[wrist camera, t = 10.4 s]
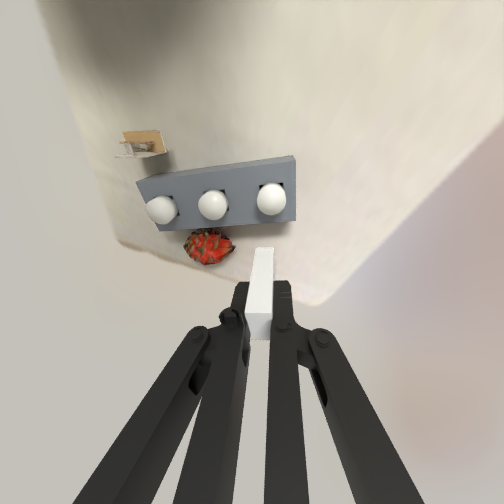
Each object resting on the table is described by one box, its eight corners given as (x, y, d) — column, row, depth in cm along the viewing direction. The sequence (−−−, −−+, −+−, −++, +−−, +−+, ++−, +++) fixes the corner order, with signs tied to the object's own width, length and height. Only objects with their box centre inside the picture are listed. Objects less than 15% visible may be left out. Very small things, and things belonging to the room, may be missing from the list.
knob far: (164, 188, 37) (141, 201, 31) (184, 185, 37) (164, 198, 30) (173, 209, 40) (153, 225, 33) (192, 207, 39) (175, 223, 33)
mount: (154, 174, 37) (135, 182, 32) (292, 155, 32) (295, 160, 27) (172, 219, 43) (159, 231, 38) (293, 208, 38) (295, 220, 33)
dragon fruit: (189, 230, 46) (236, 231, 46) (189, 264, 46) (236, 264, 46) (177, 225, 37) (235, 226, 38) (176, 266, 37) (234, 266, 38)
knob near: (259, 176, 34) (255, 188, 27) (284, 173, 33) (285, 184, 27) (262, 200, 36) (258, 216, 30) (284, 198, 36) (286, 213, 29)
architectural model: (135, 131, 33) (103, 132, 27) (170, 130, 33) (146, 131, 26) (142, 152, 35) (114, 157, 29) (175, 151, 34) (154, 157, 28)
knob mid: (209, 182, 36) (194, 195, 29) (232, 180, 35) (221, 192, 28) (215, 205, 38) (202, 221, 32) (236, 202, 37) (227, 219, 31)
